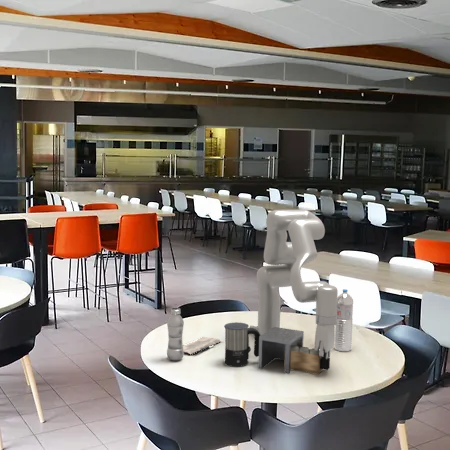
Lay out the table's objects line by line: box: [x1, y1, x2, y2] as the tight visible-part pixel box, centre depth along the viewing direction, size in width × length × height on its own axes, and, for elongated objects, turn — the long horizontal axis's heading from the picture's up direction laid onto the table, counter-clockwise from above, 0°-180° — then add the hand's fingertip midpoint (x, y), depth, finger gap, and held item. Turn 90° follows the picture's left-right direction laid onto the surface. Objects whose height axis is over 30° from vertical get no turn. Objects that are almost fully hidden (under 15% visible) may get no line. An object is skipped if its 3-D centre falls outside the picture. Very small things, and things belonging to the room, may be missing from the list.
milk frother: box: [223, 321, 260, 368], centre depth 244 cm, size 14×16×15 cm
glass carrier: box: [283, 345, 324, 375], centre depth 235 cm, size 13×6×8 cm, turn 64°
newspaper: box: [183, 336, 222, 356], centre depth 260 cm, size 23×12×2 cm, turn 146°
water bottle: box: [334, 289, 354, 352], centre depth 259 cm, size 7×7×25 cm
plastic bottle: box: [166, 307, 185, 361], centre depth 242 cm, size 6×7×20 cm
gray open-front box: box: [257, 327, 305, 375], centre depth 238 cm, size 12×15×12 cm
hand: (324, 368), depth 231 cm, fingers closed
